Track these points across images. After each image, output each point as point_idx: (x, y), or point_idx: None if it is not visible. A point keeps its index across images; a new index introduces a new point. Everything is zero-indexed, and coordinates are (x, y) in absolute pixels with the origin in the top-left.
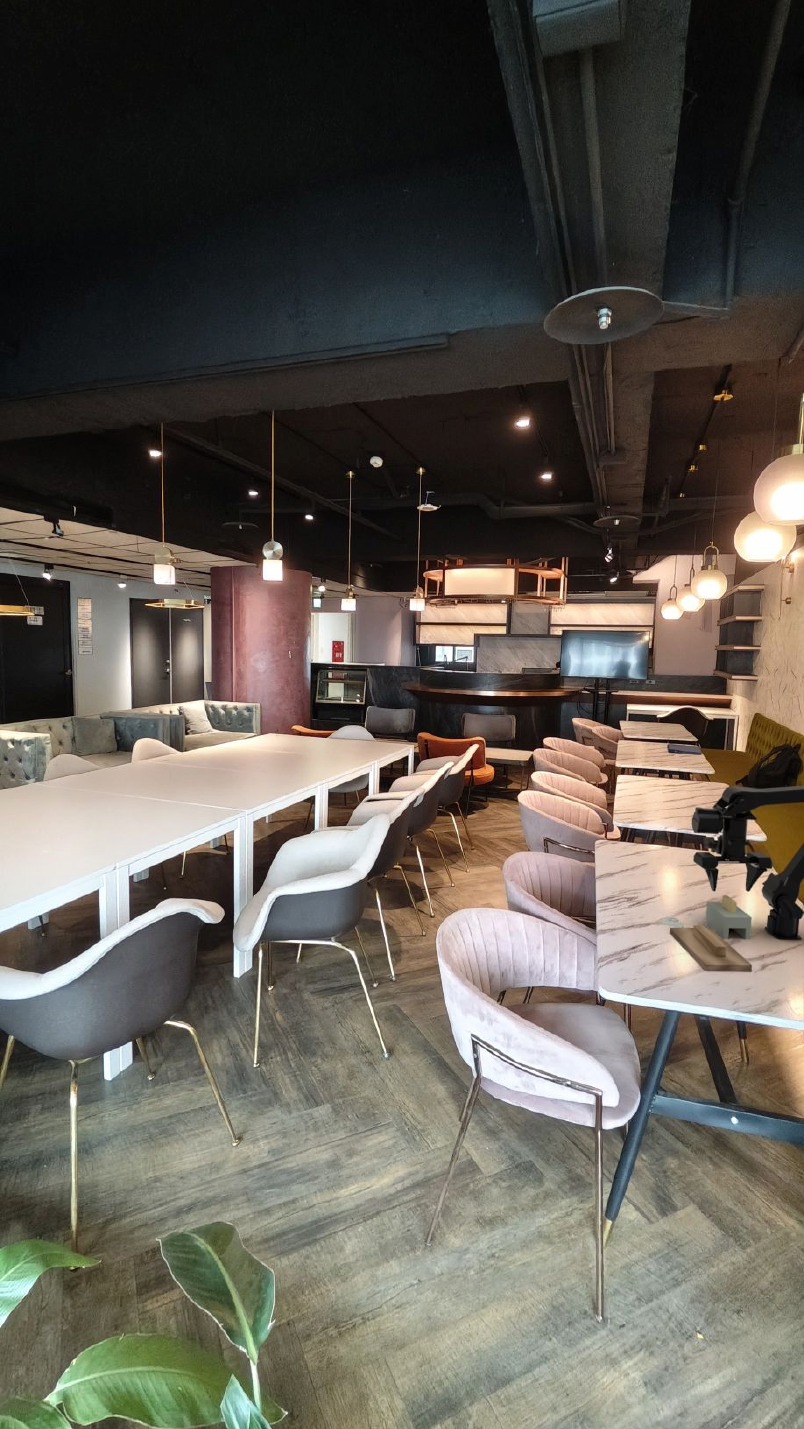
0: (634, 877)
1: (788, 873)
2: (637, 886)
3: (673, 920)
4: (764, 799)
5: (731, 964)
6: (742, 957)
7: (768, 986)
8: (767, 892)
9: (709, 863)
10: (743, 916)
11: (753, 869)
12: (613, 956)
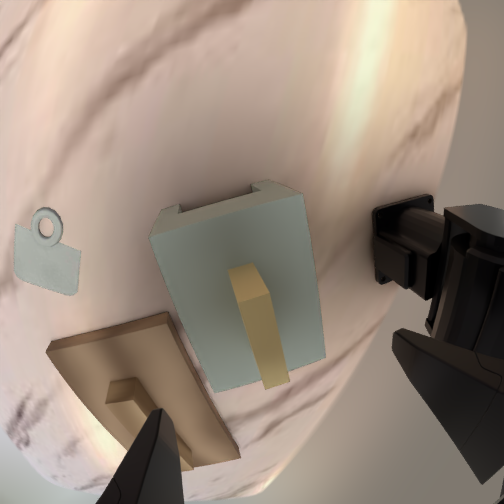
0: None
1: None
2: None
3: (46, 244)
4: None
5: (199, 465)
6: (229, 444)
7: (252, 468)
8: (467, 321)
9: None
10: (295, 362)
11: (494, 459)
12: (13, 436)
